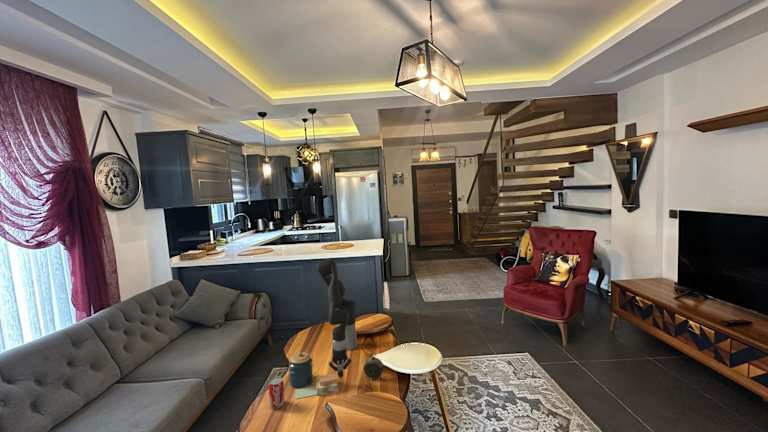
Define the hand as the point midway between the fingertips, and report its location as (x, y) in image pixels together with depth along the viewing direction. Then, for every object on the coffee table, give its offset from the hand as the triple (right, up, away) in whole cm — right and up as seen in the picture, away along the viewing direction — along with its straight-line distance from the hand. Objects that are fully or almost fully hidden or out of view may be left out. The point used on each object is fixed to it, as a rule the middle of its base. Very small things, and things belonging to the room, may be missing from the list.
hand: (340, 376), depth 175 cm
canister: (-23, -6, +5) cm, 24 cm away
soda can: (-30, -7, -14) cm, 34 cm away
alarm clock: (+18, -4, +5) cm, 19 cm away
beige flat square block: (-7, -5, -2) cm, 9 cm away
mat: (-18, -6, -5) cm, 20 cm away
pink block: (-7, -1, -2) cm, 7 cm away
